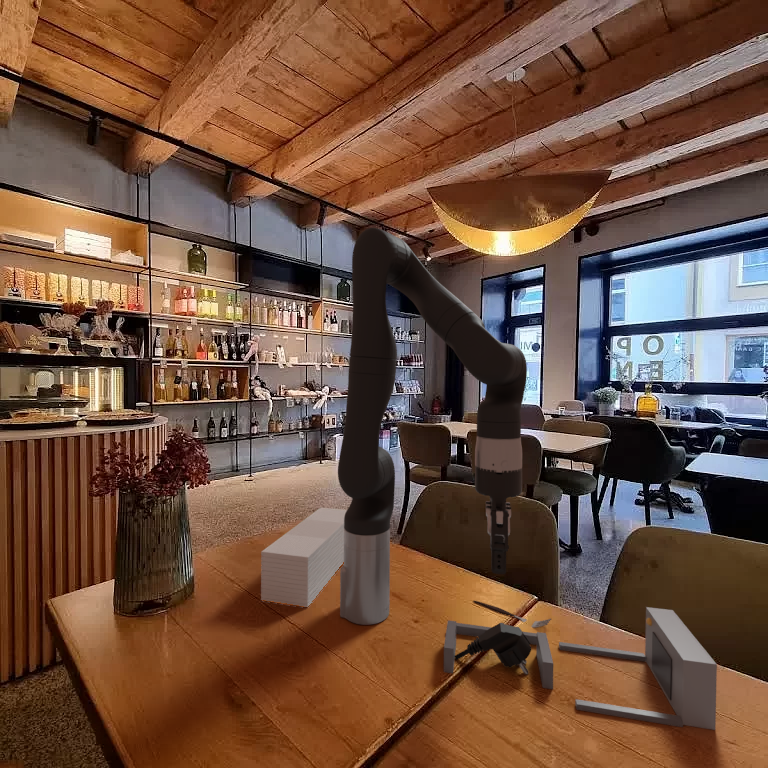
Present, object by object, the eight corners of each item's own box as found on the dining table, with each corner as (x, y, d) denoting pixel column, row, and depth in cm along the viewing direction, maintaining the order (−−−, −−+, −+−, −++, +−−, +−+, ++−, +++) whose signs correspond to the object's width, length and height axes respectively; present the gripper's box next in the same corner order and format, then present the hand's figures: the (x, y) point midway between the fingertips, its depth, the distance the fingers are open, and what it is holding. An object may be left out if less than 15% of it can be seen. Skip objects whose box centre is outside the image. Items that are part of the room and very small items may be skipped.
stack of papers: (320, 545, 123) (320, 507, 122) (356, 549, 120) (356, 510, 120) (261, 602, 92) (261, 551, 91) (307, 609, 89) (308, 557, 89)
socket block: (576, 709, 62) (577, 647, 62) (558, 646, 77) (559, 595, 77) (717, 733, 58) (718, 666, 58) (670, 661, 73) (671, 608, 73)
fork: (476, 600, 93) (476, 591, 93) (551, 628, 83) (551, 618, 83) (470, 605, 91) (470, 596, 91) (547, 634, 81) (547, 624, 81)
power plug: (453, 643, 76) (512, 610, 74) (478, 681, 75) (538, 649, 73) (452, 664, 71) (515, 629, 69) (479, 706, 70) (544, 672, 68)
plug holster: (443, 672, 70) (443, 647, 70) (449, 629, 82) (449, 608, 82) (552, 689, 66) (553, 663, 66) (542, 642, 78) (542, 620, 78)
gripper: (475, 455, 79) (475, 543, 79) (474, 472, 65) (473, 578, 66) (518, 457, 78) (517, 547, 78) (526, 474, 64) (525, 584, 64)
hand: (497, 561), depth 72 cm, fingers open, 8 cm apart
